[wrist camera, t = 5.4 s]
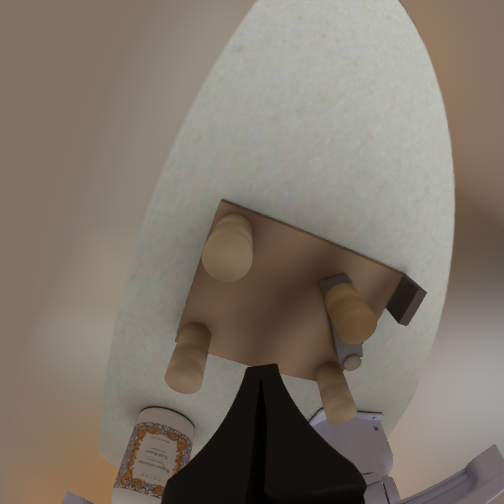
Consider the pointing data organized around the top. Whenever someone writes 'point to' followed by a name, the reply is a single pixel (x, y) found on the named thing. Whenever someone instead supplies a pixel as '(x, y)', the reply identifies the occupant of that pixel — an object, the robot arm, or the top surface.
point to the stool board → (277, 304)
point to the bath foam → (153, 456)
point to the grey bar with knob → (347, 319)
